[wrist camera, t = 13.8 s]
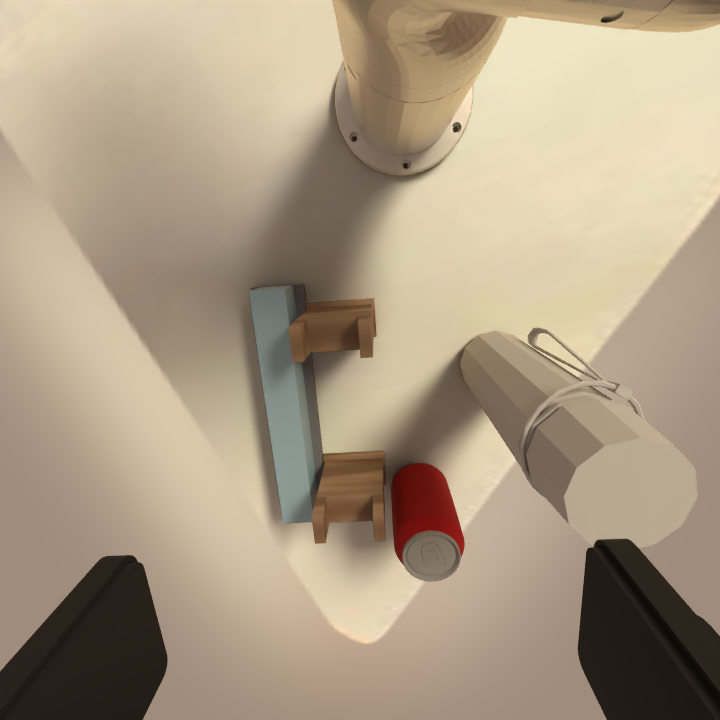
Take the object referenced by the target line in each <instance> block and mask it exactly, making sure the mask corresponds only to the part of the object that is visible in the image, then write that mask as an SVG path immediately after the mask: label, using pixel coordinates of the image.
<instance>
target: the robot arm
mask: <svg viewBox="0 0 720 720" xmlns="http://www.w3.org/2000/svg"><path fill="white" fill-rule="evenodd" d="M332 1H333V6H334V11H335V15H336V21H337V26H338V32H339V36H340V42H341V47H342V53H343V59H344V60H343V62H342V65H341V68H340V71H339V74H338V77H337V83H336V88H335V109H336V115H337V121H338V124H339V127H340V130H341V132H342V135H343V137H344V139H345V141H346V143H347V144H348V146H349V147H350V149H351V150H352V152H353V153H354V154H355V155H356V156H357V157H358V158H359V159H360V160H361V161H362V162H363V163H365V164H366V165H368V166H369V167H371V168H373V169H375V170H377V171H380V172H382V173H385V174H391V175H411V174H415V173H420V172H422V171H425V170H427V169H429V168H431V167H433V166H434V165H436V164H437V163H439V162H440V161H441V160H443V159H444V158H445V157H446V156H447V155H448V154H449V153H450V152H451V151H452V150H453V148H454V147H455V146H456V144H457V143H458V142H459V140H460V138H461V137H462V135H463V133H464V131H465V129H466V126H467V123H468V121H469V118H470V115H471V109H472V103H473V83H474V82H475V80H476V78H477V77H478V75H479V73H480V71H481V70H482V68H483V66H484V65H485V63H486V61H487V59H488V57H489V56H490V54H491V52H492V50H493V49H494V47H495V45H496V43H497V41H498V39H499V37H500V35H501V33H502V30H503V28H504V25H505V23H506V20H507V17H511V18H516V17H518V16H522V17H530V18H538V19H546V20H554V21H562V22H570V23H578V24H586V25H594V26H602V27H611V28H619V29H627V30H628V29H632V30H641V31H654V32H690V31H696V30H701V29H706V28H710V27H713V26H716V25H719V24H720V0H332ZM454 127H456V128H457V129H458V131H457V132H454V131H453V128H454ZM353 137H356V138H357V141H356V142H353V141H352V138H353ZM404 164H408V168H407V169H404V168H403V165H404ZM578 654H579V660H580V663H581V666H582V669H583V671H584V673H585V676H586V677H587V680H588V682H589V683H590V686H591V688H592V690H593V692H594V694H595V696H596V698H597V700H598V702H599V704H600V706H601V708H602V710H603V713H604V715H605V717H606V718H607V720H720V636H719V635H718V634H717V633H716V632H715V630H714V629H713V628H712V627H711V626H710V625H709V624H708V623H707V622H706V621H705V620H704V619H703V618H701V617H700V616H698V615H696V614H695V613H694V612H693V611H692V610H691V608H690V607H689V606H688V605H687V604H686V603H685V601H684V600H683V599H682V598H681V597H680V596H679V594H678V593H677V592H676V591H675V590H674V589H673V587H672V586H671V585H670V584H669V583H668V582H667V581H666V579H665V578H664V577H663V576H662V575H661V574H660V573H659V571H658V570H657V569H656V568H655V567H654V566H653V565H652V563H651V562H650V561H649V560H648V559H647V558H646V556H645V555H644V554H643V553H642V552H641V551H640V549H639V548H638V547H637V546H636V545H635V544H634V543H633V542H632V541H631V540H629V539H599V540H596V542H595V544H594V548H588V549H587V552H586V563H585V575H584V585H583V596H582V608H581V618H580V630H579V641H578ZM166 668H167V653H166V649H165V645H164V641H163V638H162V634H161V630H160V627H159V623H158V619H157V616H156V611H155V608H154V604H153V600H152V596H151V592H150V588H149V585H148V581H147V577H146V573H145V570H144V566H143V564H141V563H138V561H137V559H136V558H135V557H134V556H131V555H126V556H106V557H103V558H101V560H99V561H98V562H97V563H96V564H95V565H94V567H93V568H92V569H91V570H90V571H89V572H88V573H87V574H86V576H85V577H84V578H83V579H82V580H81V581H80V582H79V583H78V584H77V586H76V587H75V588H74V589H73V590H72V591H71V592H70V593H69V595H68V596H67V597H66V598H65V599H64V600H63V601H62V602H61V604H60V605H59V606H58V607H57V608H56V609H55V610H54V611H53V613H52V614H51V615H50V616H49V617H48V618H47V619H46V621H45V622H44V623H43V624H42V625H41V626H40V627H39V628H38V630H37V631H36V632H35V633H34V634H33V635H32V636H31V637H30V639H29V640H28V641H27V642H26V643H25V644H24V645H23V646H22V648H21V649H20V650H19V651H18V652H17V653H16V654H15V655H14V657H13V658H12V659H11V660H10V661H9V662H8V663H7V664H6V666H5V667H4V668H3V669H2V670H1V671H0V720H143V718H144V716H145V714H146V712H147V710H148V708H149V706H150V704H151V702H152V699H153V697H154V696H155V694H156V691H157V689H158V687H159V686H160V684H161V681H162V679H163V677H164V675H165V671H166Z"/></svg>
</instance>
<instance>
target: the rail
mask: <svg viewBox="0 0 720 720" xmlns="http://www.w3.org/2000/svg"><path fill="white" fill-rule="evenodd" d="M249 297H250V304H251V310H252V317H253V324H254V330H255V337H256V344H257V351H258V357H259V364H260V371H261V378H262V384H263V391H264V398H265V404H266V411H267V418H268V425H269V431H270V438H271V445H272V451H273V458H274V465H275V472H276V478H277V485H278V492H279V498H280V505H281V512H282V519H283V523H301V522H312V514H313V509H314V505H315V501H316V497H317V493H318V489H317V481H316V473H315V464H314V456H313V448H312V439H311V431H310V422H309V414H308V406H307V397H306V389H305V381H304V372H303V364H302V362H292V354H291V346H290V338H289V330H288V327H289V326H290V325H291V324H292V323H293V322H294V321H295V320H296V319H297V313H296V305H295V297H294V288H293V285H286V286H273V287H260V288H257V289H254V290H251V291H249Z"/></svg>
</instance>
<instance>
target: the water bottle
mask: <svg viewBox="0 0 720 720" xmlns="http://www.w3.org/2000/svg"><path fill="white" fill-rule="evenodd" d="M539 333H546V334H549V335H550V336H551V337H552V338H554V339H555V340H556V341H557V342H558V343H559V344H561V345H562V346H563V347H564V348H565V349H566V350H567V351H569V352H570V353H571V354H572V355H573V356H574V357H576V358H577V359H578V360H579V361H580V362H581V363H582V364H584V365H585V366H586V367H587V368H588V369H589V370H591V371H592V372H593V373H594V374H595V375H596V376H597V377H599V378H600V379H601V380H598V379H596V378H594V377H592V376H591V375H589V374H587V373H585V372H583V371H581V370H580V369H578V368H576V367H574V366H572V365H571V364H569V363H567V362H565V361H563V360H561V359H560V358H558V357H556V356H554V355H552V354H550V353H549V352H547V351H545V350H543V349H541V348H540V347H538V346H536V341H537V338H538V335H539ZM528 342H529V344H531V345H532V346H533V347H534V348H536V349H538V350H539V351H541V352H543V353H545V354H547V355H549V356H551V357H553V358H555V359H556V360H558V361H560V362H562V363H564V364H566V365H568V366H570V367H572V368H573V369H575V370H577V371H579V372H581V373H583V374H585V375H587V376H589V377H591V378H592V379H595V380H590V381H583V380H581V379H579V378H578V377H576V376H575V375H573V374H572V373H570V372H569V371H567V370H566V369H564V368H563V367H561V366H559V365H558V364H556V363H555V362H553V361H552V360H550V359H549V358H547V357H546V356H544V355H542V354H541V353H539V352H538V351H536V350H535V349H533V348H532V347H530V346H529V345H527V344H525V343H524V342H522V341H521V340H519V339H518V338H516V337H515V336H513V335H510V334H506V333H502V332H499V331H493V332H489V333H485V334H481V335H478V336H477V337H476V338H475V339H474V340H473V341H472V342H470V343H469V344H468V345H467V346H466V347H465V349H464V352H463V355H462V358H461V361H460V366H461V371H462V375H463V379H464V381H465V382H466V384H467V385H468V387H469V388H470V390H471V391H472V393H473V394H474V396H475V398H476V399H477V401H478V402H479V404H480V405H481V407H482V408H483V410H484V411H485V413H486V414H487V416H488V417H489V419H490V420H491V422H492V423H493V425H494V427H495V428H496V430H497V431H498V433H499V434H500V436H501V437H502V439H503V440H504V442H505V443H506V445H507V446H508V448H509V449H510V451H511V452H512V454H513V456H514V457H515V459H516V460H517V462H518V463H519V464H520V466H521V468H522V470H523V472H524V474H525V476H526V478H527V480H528V481H529V482H530V484H531V485H532V487H533V488H534V489H535V490H536V491H538V492H539V493H540V494H541V495H542V496H544V497H545V498H546V499H547V500H548V501H549V502H550V503H551V504H552V506H553V507H554V508H555V509H556V510H557V511H558V512H559V513H560V515H561V516H562V517H563V518H564V519H565V520H566V521H567V523H568V524H570V526H571V527H572V528H573V529H575V530H576V531H577V532H578V533H579V534H580V535H581V536H582V537H583V538H584V539H585V540H586V541H587V542H588V543H589V544H592V545H594V544H595V542H596V540H599V539H629V540H631V541H632V542H633V543H634V544H635V545H636V546H637V547H638V548H640V547H645V546H650V545H654V544H656V543H657V542H659V541H660V540H661V539H663V538H664V537H666V536H667V535H669V534H670V533H672V532H673V531H674V530H676V529H677V528H679V527H680V526H682V525H683V523H684V521H685V519H686V518H687V516H688V514H689V512H690V510H691V508H692V507H693V505H694V503H695V501H696V499H697V498H698V496H697V485H696V472H695V468H694V466H693V465H692V464H691V463H690V462H689V461H688V460H687V459H686V458H685V457H684V456H683V455H682V454H681V452H679V450H678V449H677V448H676V447H675V446H674V445H673V444H672V443H670V442H669V441H668V440H667V439H666V438H664V437H663V436H662V435H661V434H660V433H659V432H657V431H656V430H655V429H654V428H652V426H650V425H649V424H648V423H647V422H646V421H645V419H644V416H643V413H642V410H641V406H640V404H639V402H638V401H637V400H636V399H635V398H633V397H632V394H633V393H634V392H633V391H631V390H629V389H627V388H626V387H624V386H622V385H621V384H617V383H613V382H609V381H607V380H606V379H605V378H603V377H602V376H601V375H600V374H599V373H598V372H597V371H595V370H594V369H593V368H592V367H591V366H590V365H588V364H587V363H586V362H585V361H584V360H583V359H582V358H580V357H579V356H578V355H577V354H576V353H575V352H574V351H572V350H571V349H570V348H569V347H568V346H567V345H566V344H564V343H563V342H562V341H561V340H560V339H559V338H557V337H556V336H555V335H554V334H553V333H551V332H549V331H547V330H545V329H541V328H533V329H532V331H531V332H530V333H529V335H528ZM592 386H600V387H604V388H607V389H608V390H610V391H612V392H614V393H616V394H617V395H619V396H621V397H623V398H625V399H627V400H628V402H629V403H630V404H631V405H632V406H633V408H634V410H635V412H634V411H633V410H631V409H630V408H629V407H628V406H626V405H622V404H620V403H619V402H615V401H612V399H610V398H609V397H607V396H606V395H604V394H603V393H601V392H599V391H598V390H596V389H595V388H593V387H592Z"/></svg>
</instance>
